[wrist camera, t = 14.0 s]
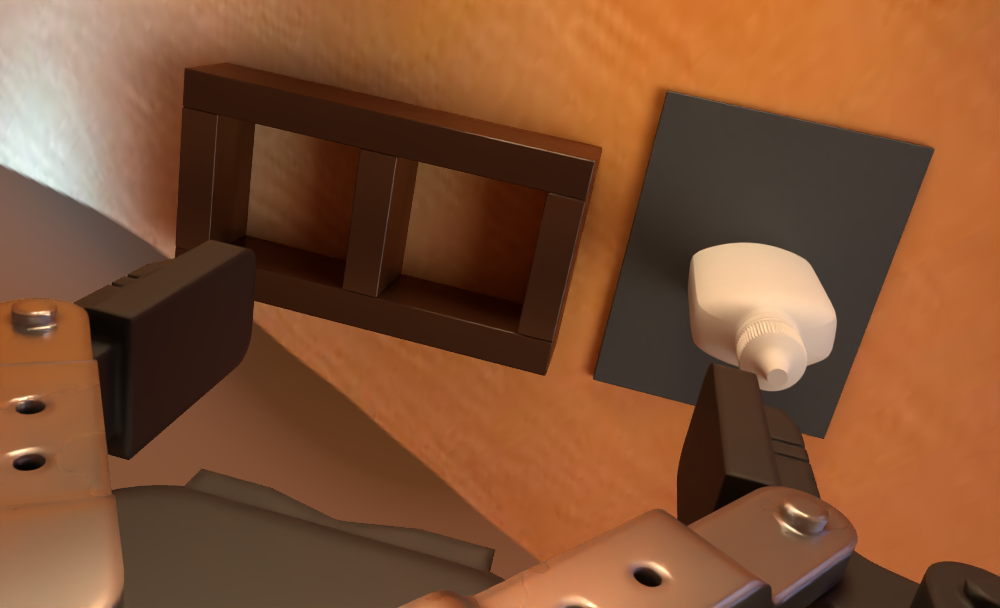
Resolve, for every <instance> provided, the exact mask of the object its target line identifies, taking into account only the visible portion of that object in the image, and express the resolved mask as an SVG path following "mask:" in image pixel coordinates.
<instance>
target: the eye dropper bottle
mask: <svg viewBox="0 0 1000 608" xmlns="http://www.w3.org/2000/svg"><path fill="white" fill-rule="evenodd" d="M688 300H689V314H690V326H691V334H692V338H693V341H694V343H695V344H696V345H697V347H698V348H700V349H701V350H703V351H704V352H706V353H707V354H709V355H711V356H713V357H715V358H717V359H719V360H721V361H724V362H726V363H729V364H732V365H735V366H738V367H739V369H740V370H743V371H747V372H752V373H755V374H756V375H757V379H758V383H759V387H760V389H762V390H765V391H778V390H779V391H780V390H784V389H787V388H788V387H790V386H793V384H796V382H798V380H799V379H801V378H800V377H802V376H803V374H804V371H805V370H806V369H805V368H806V367H807V366H808V365H811V364H814V363H817V362H819V361H822V360H824V359H825V358H826V357H828V356H829V354H830V352H831V351H832V348H833V344H834V339H835V333H836V326H837V319H836V314H835V310H834V308H833V306H832V304H831V302H830V300H829V298H828V296H827V294H826V292H825V290H824V288H823V286H822V285H821V283H820V281H819V279H818V277H817V275H816V274H815V272H814V270H813V268H812V266H811V265H810V264H809V263H808V262H807V260H805V259H803V258H802V257H800V256H798V255H796V254H794V253H792V252H789V251H787V250H784V249H781V248H778V247H774V246H770V245H765V244H759V243H730V244H723V245H718V246H713V247H710V248H706V249H704V250H701V251H699V252H697V253H696V254H695V255H693V257H692V259H691V262H690V270H689V279H688Z"/></svg>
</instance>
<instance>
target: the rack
mask: <svg viewBox="0 0 1000 608" xmlns="http://www.w3.org/2000/svg"><path fill="white" fill-rule="evenodd" d="M183 106H184V107H183V108H182V128H181V148H180V168H179V188H178V208H177V228H176V251H175V258H176V257H178V256H180V255H182V254H184V253H186V252H187V251H189V250H191V249H193V248H195V247H197V246H199V245H200V244H202V243H204V242H206V241H208V240H215V241H219V242H223V243H227V244H231V245H235V246H239V247H243V248H247V249H251V250H252V251H253V252H254V253H255V256H256V262H257V268H256V282H255V295H254V301H257V302H261V303H265V304H269V305H273V306H277V307H280V308H284V309H288V310H292V311H296V312H300V313H304V314H307V315H311V316H315V317H319V318H323V319H327V320H331V321H334V322H338V323H342V324H346V325H350V326H354V327H358V328H362V329H365V330H369V331H373V332H377V333H381V334H385V335H389V336H392V337H396V338H400V339H404V340H408V341H412V342H416V343H420V344H423V345H427V346H431V347H435V348H439V349H443V350H447V351H450V352H454V353H458V354H462V355H466V356H470V357H474V358H478V359H481V360H485V361H489V362H493V363H497V364H501V365H505V366H508V367H512V368H516V369H520V370H524V371H528V372H532V373H535V374H539V375H543V376H545V375H546V373H547V370H548V367H549V364H550V361H551V358H552V355H553V352H554V349H555V346H556V342H557V338H558V334H559V330H560V326H561V321H562V317H563V313H564V309H565V304H566V300H567V296H568V292H569V287H570V283H571V279H572V275H573V270H574V266H575V262H576V258H577V253H578V249H579V245H580V241H581V236H582V232H583V228H584V224H585V220H586V215H587V211H588V207H589V203H590V198H591V194H592V190H593V184H594V181H595V177H596V173H597V169H598V164H599V160H600V156H601V152H602V148H601V147H598V146H593V145H589V144H584V143H580V142H576V141H571V140H567V139H562V138H558V137H553V136H549V135H545V134H540V133H536V132H531V131H527V130H522V129H518V128H514V127H509V126H505V125H500V124H496V123H491V122H487V121H483V120H478V119H474V118H469V117H465V116H460V115H456V114H452V113H447V112H443V111H438V110H434V109H429V108H425V107H421V106H416V105H412V104H407V103H403V102H398V101H394V100H390V99H385V98H381V97H376V96H372V95H367V94H363V93H359V92H354V91H350V90H345V89H341V88H336V87H332V86H328V85H323V84H319V83H314V82H310V81H305V80H301V79H297V78H292V77H288V76H283V75H279V74H274V73H270V72H266V71H261V70H257V69H252V68H248V67H243V66H239V65H235V64H230V63H222V64H214V65H206V66H198V67H190V68H185V74H184V93H183ZM255 124H260V125H264V126H268V127H273V128H277V129H281V130H285V131H290V132H294V133H298V134H303V135H307V136H311V137H315V138H320V139H324V140H328V141H333V142H337V143H341V144H345V145H350V146H354V147H358V148H361V149H360V155H359V163H358V171H357V179H356V186H355V194H354V202H353V209H352V217H351V225H350V233H349V240H348V248H347V256H346V260H342V259H338V258H334V257H330V256H326V255H322V254H318V253H314V252H310V251H306V250H302V249H298V248H294V247H290V246H286V245H282V244H278V243H274V242H270V241H266V240H262V239H258V238H254V237H250V236H246V228H247V216H248V204H249V192H250V180H251V168H252V155H253V143H254V131H255ZM418 162H422V163H427V164H431V165H435V166H440V167H444V168H448V169H452V170H457V171H461V172H465V173H470V174H474V175H478V176H482V177H487V178H491V179H495V180H500V181H504V182H508V183H512V184H517V185H521V186H525V187H529V188H534V189H538V190H542V191H547V195H546V200H545V204H544V209H543V213H542V218H541V223H540V227H539V232H538V237H537V241H536V246H535V251H534V255H533V260H532V264H531V269H530V274H529V278H528V283H527V288H526V292H525V297H524V301H523V305H522V304H518V303H514V302H510V301H506V300H502V299H498V298H494V297H490V296H486V295H482V294H478V293H474V292H470V291H466V290H462V289H458V288H454V287H450V286H446V285H442V284H438V283H434V282H430V281H426V280H422V279H418V278H414V277H410V276H406V275H402V274H401V270H402V264H403V257H404V251H405V245H406V238H407V232H408V225H409V219H410V212H411V206H412V200H413V193H414V187H415V180H416V174H417V168H418Z"/></svg>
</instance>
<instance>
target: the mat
mask: <svg viewBox="0 0 1000 608" xmlns="http://www.w3.org/2000/svg"><path fill="white" fill-rule="evenodd" d="M933 152H934V149H933V148H931V147H926V146H922V145H917V144H913V143H908V142H903V141H899V140H894V139H889V138H885V137H880V136H876V135H871V134H866V133H862V132H857V131H852V130H848V129H843V128H839V127H834V126H829V125H825V124H820V123H815V122H811V121H806V120H802V119H797V118H792V117H788V116H783V115H778V114H774V113H769V112H765V111H760V110H755V109H751V108H746V107H741V106H737V105H732V104H728V103H723V102H718V101H714V100H709V99H704V98H700V97H695V96H691V95H686V94H681V93H677V92H672V91H667V94H666V97H665V101H664V105H663V109H662V113H661V117H660V121H659V125H658V128H657V132H656V136H655V140H654V144H653V148H652V152H651V156H650V159H649V163H648V167H647V171H646V175H645V179H644V183H643V187H642V190H641V194H640V198H639V202H638V206H637V210H636V214H635V218H634V221H633V225H632V229H631V233H630V237H629V241H628V245H627V249H626V252H625V256H624V260H623V264H622V268H621V272H620V276H619V280H618V283H617V287H616V291H615V295H614V299H613V303H612V307H611V311H610V314H609V318H608V322H607V326H606V330H605V334H604V338H603V342H602V345H601V349H600V353H599V357H598V361H597V365H596V369H595V373H594V377H593V380H597V381H601V382H605V383H609V384H612V385H616V386H620V387H624V388H628V389H632V390H636V391H640V392H644V393H647V394H651V395H655V396H659V397H663V398H667V399H671V400H675V401H679V402H682V403H686V404H690V405H694V406H696V403H697V400H698V396H699V393H700V390H701V387H702V383H703V380H704V377H705V374H706V372H707V369H708V367H709V365H710V364H711V363H715V364H719V365H723V366H727V367H731V368H735V369H739V367H738V366H735V365H732V364H729V363H726V362H724V361H721V360H719V359H717V358H715V357H713V356H711V355H709V354H707V353H706V352H704V351H703V350H701V349H700V348H698V347H697V345H696V344H695V343H694V341H693V338H692V334H691V326H690V314H689V300H688V279H689V270H690V262H691V259H692V257H693V255H695V254H696V253H697V252H699V251H701V250H704V249H706V248H710V247H713V246H718V245H723V244H730V243H759V244H765V245H770V246H774V247H778V248H781V249H784V250H787V251H789V252H792V253H794V254H796V255H798V256H800V257H802V258H803V259H805V260H807V262H808V263H809V264H810V265H811V266H812V268H813V270H814V272H815V274H816V275H817V277H818V279H819V281H820V283H821V285H822V286H823V288H824V290H825V292H826V294H827V296H828V298H829V300H830V302H831V304H832V306H833V308H834V310H835V314H836V319H837V326H836V333H835V339H834V344H833V348H832V351H831V352H830V354H829V356H828V357H826V358H825V359H824V360H822V361H819V362H817V363H814V364H811V365H808V366H807V367H806V368H805V369H806V370H805V371H804V374H803V376H802V377H800V378H801V379H799V380H798V382H796V384H793V386H790V387H788V388H787V389H784V390H780V391H779V390H778V391H765V390H762V389H760V392H761V396H762V401H763V405H766V406H770V407H774V408H778V409H782V410H783V411H784V412H785V413H786V414H787V415H788V416H789V417H790V418H791V419H792V421H793V422H794V423H795V424H796V425H797V426H798V427H799V428H800V431H801V433H803V434H807V435H811V436H814V437H818V438H822V439H824V437H825V435H826V432H827V429H828V427H829V424H830V422H831V419H832V416H833V414H834V411H835V409H836V406H837V403H838V401H839V398H840V396H841V393H842V390H843V388H844V385H845V382H846V380H847V377H848V375H849V372H850V369H851V367H852V364H853V362H854V359H855V356H856V354H857V351H858V348H859V346H860V343H861V341H862V338H863V335H864V333H865V330H866V328H867V325H868V322H869V320H870V317H871V315H872V312H873V309H874V307H875V304H876V301H877V299H878V296H879V294H880V291H881V288H882V286H883V283H884V281H885V278H886V275H887V273H888V270H889V267H890V265H891V262H892V260H893V257H894V254H895V252H896V249H897V247H898V244H899V241H900V239H901V236H902V233H903V231H904V228H905V226H906V223H907V220H908V218H909V215H910V213H911V210H912V207H913V205H914V202H915V200H916V197H917V194H918V192H919V189H920V186H921V184H922V181H923V179H924V176H925V173H926V171H927V168H928V166H929V163H930V160H931V158H932V155H933ZM739 370H740V369H739Z"/></svg>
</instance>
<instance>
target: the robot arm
mask: <svg viewBox="0 0 1000 608" xmlns="http://www.w3.org/2000/svg"><path fill="white" fill-rule="evenodd" d="M256 268H257V262H256V256H255V253H254V252H253V251H252V250H251V249H247V248H243V247H239V246H235V245H231V244H227V243H223V242H219V241H215V240H208V241H206V242H204V243H202V244H200V245H199V246H197V247H195V248H193V249H191V250H189V251H187V252H186V253H184V254H182V255H180V256H178V257H176V258H174V259H169V260H165V261H160V262H156V263H151V264H147V265H145V266H143V267H141V268H139V269H137V270H136V271H134V272H132V273H130V274H128V277H122V278H120V279H118V280H116V281H115V282H112V285H107V286H105V287H103V288H101V289H99V290H97V291H95V292H93V293H92V294H89V295H88V296H86V297H84V298H82V299H80V300H78V301H76V302H74V303H70V302H67V301H63V300H58V299H49V298H24V299H16V300H10V301H6V302H2V303H0V608H1000V577H999V576H997V575H995V574H993V573H991V572H988V571H986V570H984V569H981V568H978V567H975V566H972V565H968V564H964V563H959V562H947V561H944V562H938V563H935V564H932V565H931V566H930V567H929V568H928V569H927V571H926V573H925V575H924V577H923V579H922V581H921V583H920V584H918V583H916V582H914V581H911V580H909V579H907V578H905V577H903V576H900V575H898V574H896V573H894V572H892V571H889V570H887V569H885V568H883V567H881V566H879V565H877V564H875V563H873V562H871V561H869V560H868V559H866V558H864V557H863V556H861V555H860V554H858V553H857V552H855V551H854V548H855V546H856V544H857V533H856V530H855V528H854V527H853V525H852V524H851V522H850V521H849V520H848V519H847V518H846V517H845V516H844V515H843V514H842V513H841V512H840V511H838V510H837V509H836V508H835V507H833V506H831V505H830V504H828V503H827V502H825V501H823V500H821V498H820V494H819V491H818V488H817V484H816V481H815V478H814V474H813V471H812V468H811V464H809V458H808V454H807V451H806V449H804V448H805V444H804V441H803V437H802V434H801V431H800V428H799V427H798V426H797V425H796V424H795V423H794V422H793V421H792V419H791V418H790V417H789V416H788V415H787V414H786V413H785V412H784V411H783V410H782V409H778V408H774V407H770V406H766V405H763V401H762V396H761V392H760V387H759V383H758V379H757V375H756V374H755V373H752V372H747V371H743V370H739V369H735V368H731V367H727V366H723V365H719V364H715V363H711V364H710V365H709V367H708V369H707V372H706V374H705V377H704V380H703V383H702V387H701V390H700V393H699V396H698V400H697V403H696V406H695V409H694V413H693V416H692V419H691V422H690V426H689V429H688V432H687V435H686V438H685V442H684V445H683V449H682V453H681V457H680V462H679V467H678V474H677V519H676V518H674V517H673V516H672V515H670V514H669V513H667V512H666V511H664V510H663V509H654V510H651V511H648V512H646V513H644V514H642V515H640V516H638V517H636V518H634V519H632V520H630V521H628V522H626V523H623V524H621V525H619V526H617V527H615V528H613V529H611V530H609V531H607V532H605V533H603V534H601V535H599V536H597V537H594V538H592V539H590V540H588V541H586V542H584V543H582V544H580V545H578V546H576V547H574V548H572V549H570V550H567V551H565V552H563V553H561V554H559V555H557V556H555V557H553V558H551V559H549V560H547V561H545V562H543V563H541V564H539V565H536V566H535V567H532V568H530V569H528V570H526V571H524V572H522V573H520V574H518V575H516V576H514V577H512V578H510V579H507V580H504V579H503V578H501V577H499V576H497V575H495V574H493V573H491V572H490V569H491V565H492V561H493V556H494V551H495V550H494V549H490V548H487V547H483V546H479V545H476V544H472V543H469V542H465V541H461V540H458V539H454V538H451V537H447V536H443V535H440V534H436V533H432V532H428V531H425V530H422V529H414V528H404V527H394V526H384V525H375V524H364V523H355V522H346V521H340V520H337V519H334V518H331V517H329V516H327V515H325V514H323V513H321V512H319V511H317V510H315V509H313V508H311V507H309V506H307V505H305V504H303V503H301V502H299V501H297V500H294V499H293V498H291V497H289V496H286V495H285V494H283V493H281V492H279V491H276V490H275V489H273V488H270V487H266V486H263V485H259V484H255V483H252V482H248V481H244V480H241V479H237V478H234V477H230V476H226V475H223V474H219V473H215V472H212V471H208V470H205V469H201V470H200V471H199V472H198V473H197V474H196V475H195V476H194V477H193V478H192V479H191V480H190V481H189V482H188V483H187V484H186V485H185V486H168V485H153V486H137V487H129V488H121V489H116V490H111V481H110V471H109V462H108V454H109V455H112V456H116V457H120V458H123V459H127V460H130V459H131V458H132V457H133V456H134V455H135V454H137V453H138V452H139V451H140V450H141V449H142V448H144V446H146V445H147V444H148V443H149V442H150V441H152V440H153V439H154V438H155V437H156V436H157V435H158V434H160V433H161V432H162V431H163V430H164V429H165V428H166V427H168V426H169V425H170V424H171V423H172V422H174V421H175V420H176V419H177V418H178V417H179V416H180V415H182V414H183V413H184V412H185V411H186V410H187V409H189V408H190V407H191V406H192V405H193V404H194V403H195V402H197V401H198V400H199V399H200V398H201V397H202V396H204V395H205V394H206V393H207V392H208V391H209V390H210V389H212V388H213V387H214V386H215V385H216V384H217V383H219V382H220V381H221V380H222V379H223V378H224V377H225V376H227V375H228V374H229V373H230V372H231V371H232V370H234V369H235V368H236V367H237V366H238V365H239V364H240V363H241V361H242V360H243V358H244V356H245V354H246V352H247V349H248V346H249V343H250V339H251V333H252V321H253V308H254V295H255V282H256Z"/></svg>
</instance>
